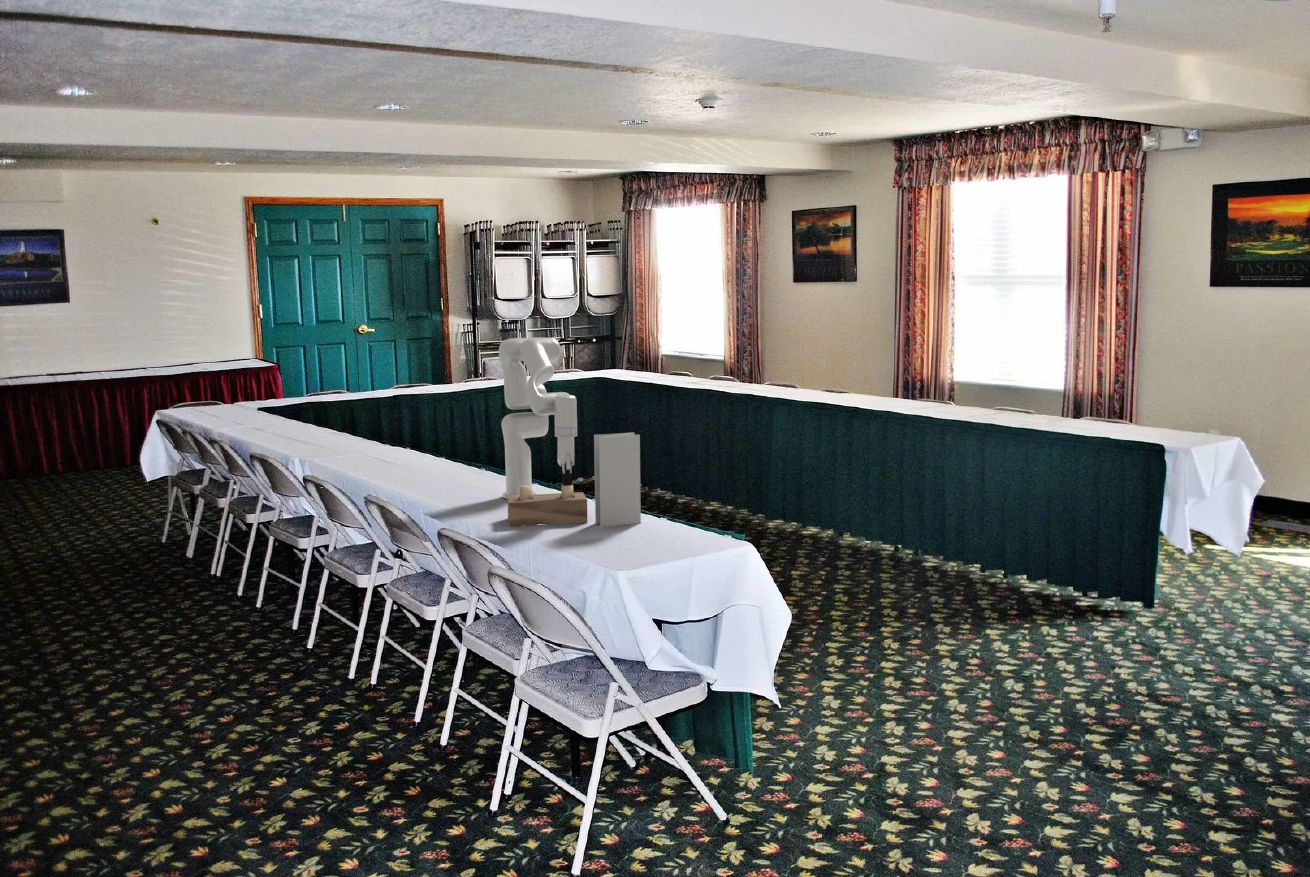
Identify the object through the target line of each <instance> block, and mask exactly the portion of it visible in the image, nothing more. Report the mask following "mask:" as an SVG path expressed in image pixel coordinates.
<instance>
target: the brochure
mask: <svg viewBox="0 0 1310 877" xmlns="http://www.w3.org/2000/svg"><path fill="white" fill-rule="evenodd" d="M593 442H594V443H593V450H594V451H593V452H594V454H593V455H594V504H595V506H594V507H595V508H594V509H595V510H594V511H595V518H594V519H595V524H600V528H604V527H612V526H613V525H616V526H622V525H621V524H626V525H634V524H641V521H642V519H641V517H642V516H641V515H642V514H641V513H642V512H641V503H642V502H641V435H640V434H636V433H635V432H623V433H622V432H621V433H619V432H618V433H607V434H606V433H605V434H594V435H593ZM613 527H614V526H613Z"/></svg>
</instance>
